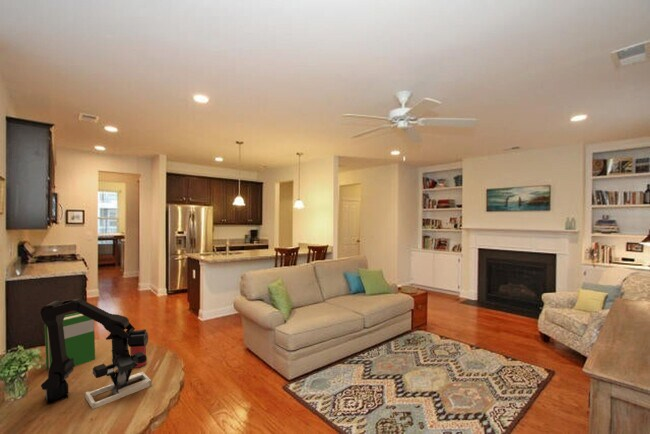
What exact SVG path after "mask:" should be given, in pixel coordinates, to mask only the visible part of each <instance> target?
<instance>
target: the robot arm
mask: <svg viewBox="0 0 650 434" xmlns="http://www.w3.org/2000/svg"><path fill="white" fill-rule="evenodd" d="M73 311H74V312H75V313H80V314H82V315H84V316H86V317H88V318H90V319H92V320H94V322H97V323H99V324H101V326H103V327H104V329H105V330H106V331H107V332H108V333H109V334H108V335H107V337H105V341H107V340H111V355H112V357H111V358H112V359H111V362H112V363H111V364H109V365H106V364H105V363H102V364H99V365H95V366H94V367H93V368H92V374H93V376H94V377H95V378H96V379H99V378H102V377H105V376H106V377H110V379H111V381H112V382H113V383H114V385H115V386H116V377H115V370H114V369H118V370H119V372H120V373H122V372H124V371H126V372H127V382H128V380H129V377H130V376H131V373H132V372H133V370H134V369H135V368H134V367H136V366H137V364H136V363H139V364H140V363H143V362H146V363H147V362H148V361H147V360H148V359H147V354H146V355H145V354H144V353H143V352H139V353H135V354H133V355H132V356H131V354H130V351H129V347H141V346H146V347H147V345H148V342H149V334H148V332H147V329H144V328H143V329H139V330H137V329H136V328H135V327H134V325H132V323H131V322H130V319H129V318H128V317H127V316H124V315H120V314H115V313H109V312H107V311H106V310H104V309H101V308H100V307H97V306H96V305H93V304H92V303H89V302H88V301H85V300H84V299H83V298H80V297H79V298H75V299H67V300H62V301H61V300H54V301H52V302H50V303H48V304H46V305H44V306H43V307H42V308H41V309H40V310H39V315H40V319H41V321H42V323H43V324H44V326H45V325H46V326H47V327H48V335H49V343H50V351H51V359H52V362H51V365H50V368H49V369H48V375H47V378H46V380H45V381H44V382H42V383H41V385H40V387H41V389H42V390H43V391H45V397H44V399H45V402H46V404H47V405H50V404H54V403H57V402H59V401H62V400H64V399H67V398H68V397H69V395H68V394H69V384H68V382H67V380H66V379H68V378H69V376H70V374H71V373H72V372H74V368H75V367H76V366H75V365H74V358H69V357H68V356H67V354H66V346H65V338H64V330H63V320H64V317H65V315H67V314H66V313H69V312H73Z"/></svg>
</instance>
